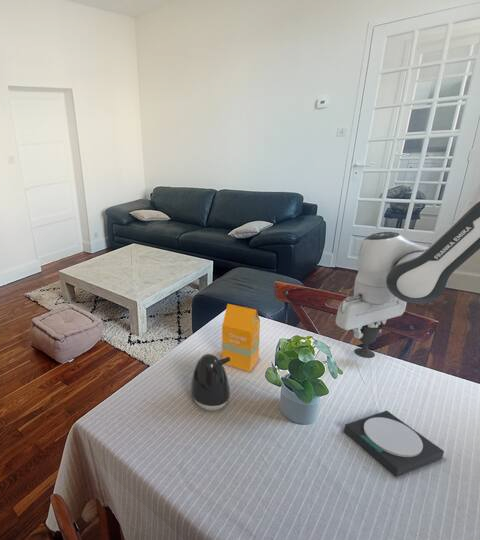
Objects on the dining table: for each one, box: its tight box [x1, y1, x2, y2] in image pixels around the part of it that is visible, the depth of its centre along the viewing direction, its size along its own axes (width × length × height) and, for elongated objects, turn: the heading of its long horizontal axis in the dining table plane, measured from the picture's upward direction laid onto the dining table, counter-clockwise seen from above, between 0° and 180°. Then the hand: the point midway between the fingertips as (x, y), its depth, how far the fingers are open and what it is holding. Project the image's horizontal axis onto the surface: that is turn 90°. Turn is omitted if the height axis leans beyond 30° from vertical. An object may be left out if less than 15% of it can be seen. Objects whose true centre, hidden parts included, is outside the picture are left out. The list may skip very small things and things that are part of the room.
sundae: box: [353, 321, 385, 359], centre depth 96 cm, size 7×7×15 cm
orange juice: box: [221, 303, 261, 372], centre depth 103 cm, size 8×9×20 cm
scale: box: [343, 410, 445, 478], centre depth 73 cm, size 12×12×4 cm
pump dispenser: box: [190, 353, 231, 412], centre depth 89 cm, size 10×10×15 cm
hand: (367, 334), depth 96 cm, fingers closed on sundae, 5 cm apart
